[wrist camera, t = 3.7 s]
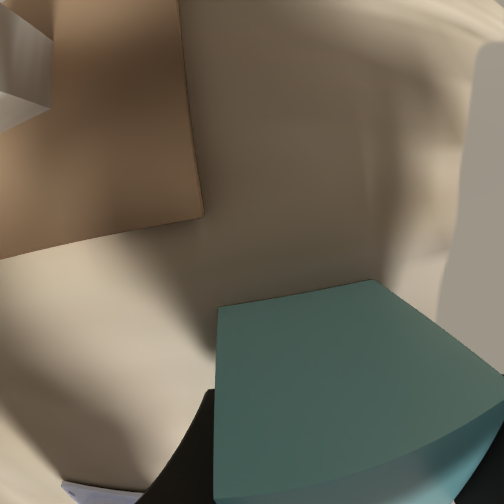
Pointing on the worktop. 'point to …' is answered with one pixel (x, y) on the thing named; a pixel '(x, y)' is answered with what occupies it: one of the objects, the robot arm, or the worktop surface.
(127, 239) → the worktop surface
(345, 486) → the teal rectangular block
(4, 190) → the post board
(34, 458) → the worktop surface
